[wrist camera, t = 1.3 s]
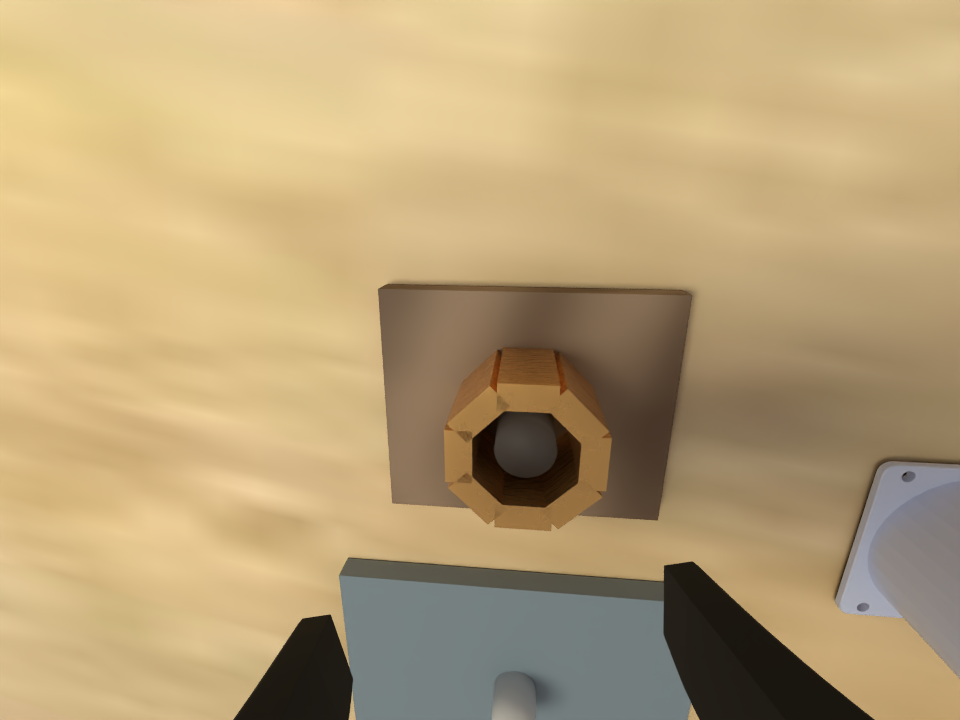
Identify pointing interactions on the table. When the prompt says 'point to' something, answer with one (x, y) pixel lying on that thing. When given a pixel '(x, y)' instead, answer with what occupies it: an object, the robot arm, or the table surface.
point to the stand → (530, 435)
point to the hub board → (505, 645)
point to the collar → (580, 449)
